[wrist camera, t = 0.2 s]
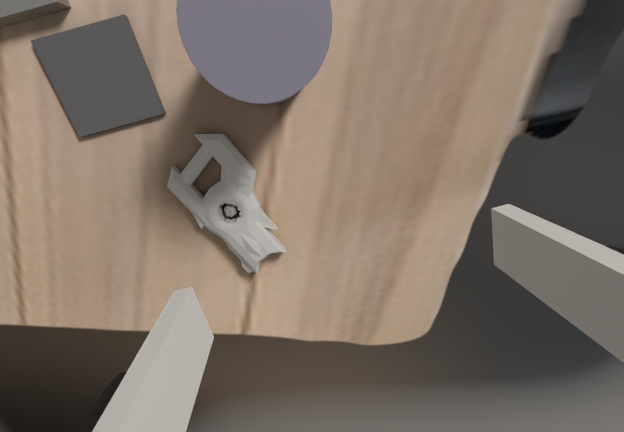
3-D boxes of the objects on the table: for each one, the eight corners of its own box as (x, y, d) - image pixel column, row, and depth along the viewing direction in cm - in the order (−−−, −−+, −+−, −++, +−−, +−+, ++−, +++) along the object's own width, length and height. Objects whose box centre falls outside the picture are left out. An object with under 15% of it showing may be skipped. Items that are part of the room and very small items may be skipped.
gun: (309, 239, 40) (249, 284, 41) (308, 230, 43) (253, 272, 44) (207, 120, 35) (143, 176, 36) (214, 119, 38) (156, 171, 40)
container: (257, -23, 33) (238, -118, 19) (331, 50, 36) (362, 14, 22) (200, 60, 35) (145, 30, 21) (274, 123, 38) (269, 133, 24)
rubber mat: (34, 41, 33) (30, 40, 33) (126, 16, 33) (123, 14, 33) (82, 136, 37) (79, 137, 36) (165, 113, 37) (164, 113, 36)
